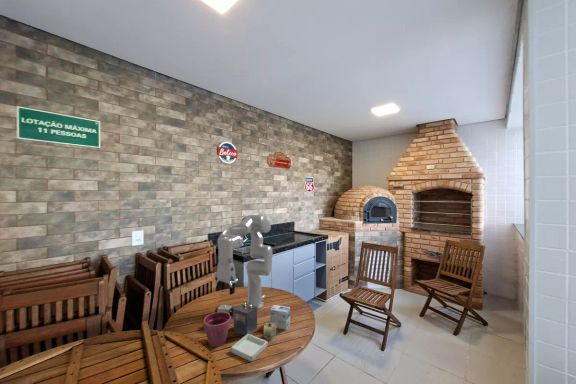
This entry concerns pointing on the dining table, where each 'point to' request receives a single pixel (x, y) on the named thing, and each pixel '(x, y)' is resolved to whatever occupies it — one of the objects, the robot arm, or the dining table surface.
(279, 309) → the light bulb box
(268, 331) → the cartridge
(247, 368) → the dining table surface
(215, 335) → the plant pot
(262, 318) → the dining table surface
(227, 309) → the pneumatic valve
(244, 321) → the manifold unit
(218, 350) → the dining table surface
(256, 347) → the tray
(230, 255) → the robot arm
